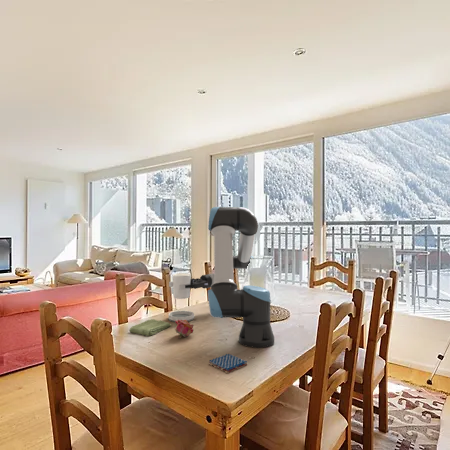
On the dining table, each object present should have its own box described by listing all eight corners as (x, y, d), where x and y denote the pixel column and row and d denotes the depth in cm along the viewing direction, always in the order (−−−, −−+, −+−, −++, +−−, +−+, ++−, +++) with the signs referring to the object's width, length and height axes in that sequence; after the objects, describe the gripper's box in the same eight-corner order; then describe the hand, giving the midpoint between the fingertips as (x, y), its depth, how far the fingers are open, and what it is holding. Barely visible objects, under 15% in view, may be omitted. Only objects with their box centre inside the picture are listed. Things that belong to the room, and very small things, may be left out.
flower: (185, 338, 140) (193, 321, 144) (166, 332, 143) (174, 314, 147) (191, 344, 148) (198, 328, 152) (173, 338, 151) (180, 321, 155)
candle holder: (187, 299, 170) (187, 276, 170) (169, 298, 172) (169, 275, 172) (193, 295, 179) (193, 273, 179) (176, 294, 182) (176, 272, 181)
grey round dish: (187, 323, 167) (187, 318, 167) (164, 321, 171) (164, 316, 171) (197, 316, 180) (197, 311, 180) (175, 314, 184) (175, 309, 184)
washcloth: (172, 327, 163) (172, 320, 163) (149, 338, 147) (149, 330, 147) (151, 323, 169) (151, 317, 169) (127, 333, 153) (127, 326, 153)
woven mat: (228, 357, 126) (228, 352, 126) (248, 366, 118) (248, 360, 118) (207, 365, 119) (207, 359, 119) (227, 375, 111) (227, 369, 111)
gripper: (220, 290, 179) (185, 296, 164) (197, 284, 196) (163, 289, 181) (220, 276, 179) (185, 281, 164) (197, 272, 196) (163, 276, 181)
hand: (174, 285), depth 173 cm, fingers closed on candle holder, 9 cm apart
